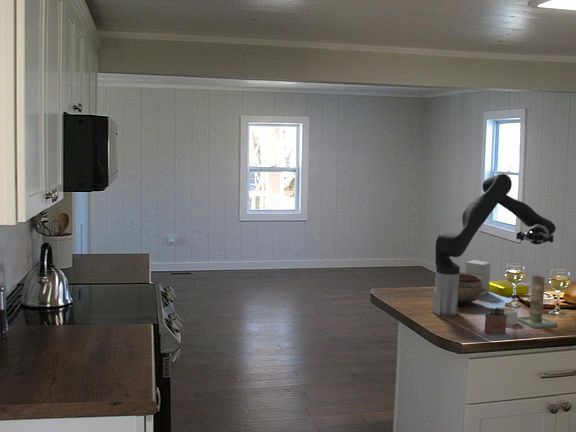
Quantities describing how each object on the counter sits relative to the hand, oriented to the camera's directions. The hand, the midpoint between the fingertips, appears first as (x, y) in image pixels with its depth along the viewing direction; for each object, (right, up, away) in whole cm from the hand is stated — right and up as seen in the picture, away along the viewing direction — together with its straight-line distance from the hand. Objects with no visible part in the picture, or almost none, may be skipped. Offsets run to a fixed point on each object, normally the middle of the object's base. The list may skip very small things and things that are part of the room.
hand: (532, 239), depth 263 cm
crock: (-14, -33, -9) cm, 37 cm away
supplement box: (-11, -27, +42) cm, 51 cm away
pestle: (-3, -32, -10) cm, 34 cm away
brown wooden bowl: (-24, -29, +21) cm, 44 cm away
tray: (-3, -33, -10) cm, 35 cm away
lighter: (-23, -35, -24) cm, 48 cm away
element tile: (+5, -28, +46) cm, 54 cm away
